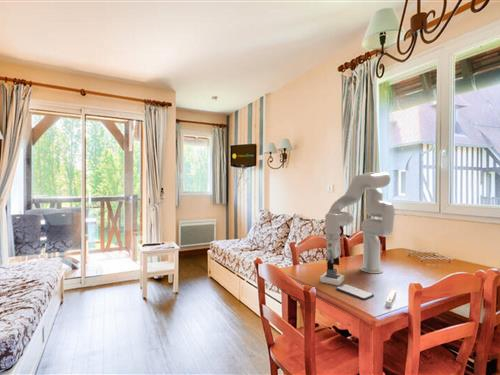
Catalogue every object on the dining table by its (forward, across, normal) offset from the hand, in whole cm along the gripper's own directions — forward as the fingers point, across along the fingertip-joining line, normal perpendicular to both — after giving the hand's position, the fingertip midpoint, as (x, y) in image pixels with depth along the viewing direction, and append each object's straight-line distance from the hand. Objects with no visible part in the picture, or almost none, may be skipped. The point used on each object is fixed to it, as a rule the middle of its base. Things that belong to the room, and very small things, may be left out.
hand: (333, 267), depth 150 cm
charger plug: (+7, -1, +1) cm, 7 cm away
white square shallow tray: (+8, -1, 0) cm, 8 cm away
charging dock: (+8, -10, -30) cm, 32 cm away
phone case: (+8, -10, -13) cm, 19 cm away
